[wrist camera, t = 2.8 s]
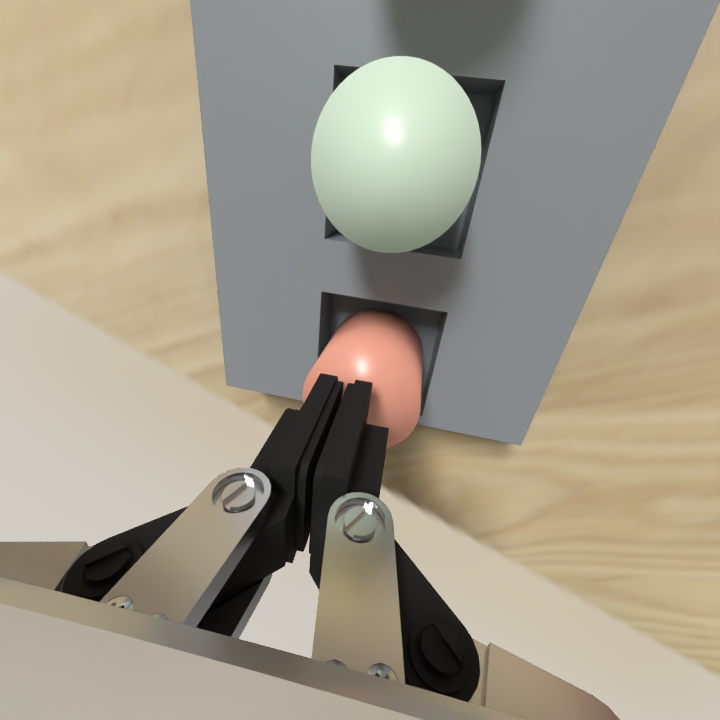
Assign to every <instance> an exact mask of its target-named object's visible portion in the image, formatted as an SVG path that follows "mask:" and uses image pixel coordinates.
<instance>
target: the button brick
mask: <svg viewBox="0 0 720 720" xmlns="http://www.w3.org/2000/svg"><path fill="white" fill-rule="evenodd" d="M422 366H423V347H422V342H421V339H420V337H419V335H418V333H417V331H416V330H415V328H414V327H413V326H412V325H411V324H410V323H409V322H408V321H407V320H406V319H404V318H403V317H401V316H400V315H398V314H396V313H393V312H391V311H387V310H382V309H368V310H363V311H359V312H357V313H354V314H352V315H351V316H349V317H348V318H346V319H345V320H344V321H343V322H342V323H341V324H340V326H339V327H338V329H337V330H336V332H335V333H334V335H333V336H332V338H331V340H330V341H329V343H328V344H327V346H326V347H325V349H324V351H323V352H322V354H321V355H320V357H319V358H318V360H317V361H316V363H315V365H314V366H313V368H312V369H311V371H310V372H309V374H308V376H307V378H306V380H305V383H304V387H303V403H304V402H305V400H306V398H307V397H308V395H309V393H310V391H311V389H312V387H313V386H314V384H315V382H316V380H317V378H318V376H319V375H320V373H323V374H329V375H334V376H338V381H342V382H343V383H344V385H343V395H344V392H345V390H346V387H347V384H348V383H353V384H354V383H355V380H361V381H367V382H372V383H373V385H372V392H371V398H370V405H369V411H368V418H367V424H371V425H376V426H381V427H386V428H389V432H388V439H387V446H386V449H387V448H390V447H392V446H395V445H397V444H399V443H400V442H402V441H403V440H404V439H406V438H407V437H408V436H409V435H410V434H411V433H412V431H413V430H414V428H415V427H416V425H417V422H418V419H419V416H420V407H421V387H422ZM343 395H342V398H343Z"/></svg>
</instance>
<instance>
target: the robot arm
mask: <svg viewBox="0 0 720 720" xmlns="http://www.w3.org/2000/svg"><path fill="white" fill-rule="evenodd" d="M343 385H344V383H343V382H342V381H338V376H334V375H329V374H323V373H320V375H319V376H318V378H317V380H316V382H315V384H314V386H313V387H312V389H311V391H310V393H309V395H308V397H307V398H306V400H305V402H304V404H303V406H302V408H301V409H300V410H295V409H290V408H288V409H286V410H285V412H284V413H283V415H282V416H281V418H280V420H279V421H278V423H277V425H276V426H275V428H274V430H273V431H272V433H271V435H270V436H269V438H268V439H267V441H266V443H265V444H264V446H263V448H262V449H261V451H260V452H259V454H258V456H257V457H256V459H255V461H254V462H253V464H252V466H251V467H250V468H236V469H233V470H229V471H227V472H225V473H223V474H221V475H219V476H218V477H217V478H215V479H214V480H213V481H212V482H211V483H210V484H209V485H208V486H207V487H206V488H205V489H204V490H203V491H202V492H201V493H200V495H199V496H198V497H197V498H196V499H195V500H194V501H193V502H192V503H191V504H190V505H189V506H188V507H185V508H183V509H180V510H178V511H175V512H173V513H170V514H168V515H165V516H163V517H160V518H158V519H155V520H153V521H150V522H148V523H145V524H143V525H140V526H138V527H135V528H133V529H130V530H128V531H125V532H123V533H120V534H118V535H115V536H113V537H110V538H108V539H106V540H104V541H102V542H100V543H98V544H96V545H94V546H88V545H87V543H86V542H0V720H620V719H619V718H618V717H617V716H616V715H615V714H614V713H613V712H612V710H611V709H610V708H609V707H608V706H607V705H605V704H604V703H602V702H601V701H600V700H598V699H597V698H595V697H594V696H593V695H591V694H589V693H587V692H585V691H583V690H581V689H579V688H577V687H575V686H573V685H572V684H570V683H568V682H566V681H564V680H562V679H560V678H558V677H556V676H554V675H552V674H550V673H548V672H546V671H544V670H542V669H540V668H539V667H537V666H535V665H533V664H531V663H529V662H527V661H525V660H523V659H521V658H519V657H517V656H515V655H514V654H511V653H510V652H508V651H506V650H504V649H502V648H500V647H498V646H496V645H494V644H492V643H490V644H489V645H488V647H487V646H486V645H484V644H482V643H480V642H478V641H476V640H474V639H472V638H471V636H470V634H469V633H468V631H467V630H466V628H465V627H464V625H463V624H462V623H461V622H460V621H459V619H458V618H457V617H456V615H454V613H453V612H452V610H451V609H450V608H449V607H448V605H447V604H446V603H445V602H444V600H443V599H442V598H441V597H440V595H439V594H438V593H437V592H436V590H435V589H434V588H433V587H432V585H431V584H430V583H429V582H428V580H427V579H426V578H425V577H424V575H423V574H422V573H421V572H420V570H419V569H418V568H417V567H416V565H415V564H414V563H413V562H412V560H411V559H410V558H409V557H408V555H407V554H406V553H405V552H404V551H403V549H402V548H401V547H400V545H399V544H398V543H397V542H396V540H395V539H394V529H393V520H392V516H391V513H390V511H389V509H388V508H387V506H386V505H385V504H384V503H383V502H382V501H381V500H380V499H379V495H380V488H381V481H382V474H383V467H384V460H385V453H386V446H387V439H388V432H389V428H386V427H381V426H376V425H371V424H367V418H368V411H369V405H370V398H371V392H372V385H373V383H372V382H367V381H361V380H355V383H354V384H353V383H348V384H347V387H346V390H345V392H344V395H343ZM342 395H343V398H342ZM309 534H310V544H309V553H310V554H311V556H310V570H309V572H310V574H311V576H312V578H313V580H314V581H315V583H316V585H317V587H318V589H319V598H318V607H317V616H316V624H315V633H314V642H313V651H312V659H311V658H307V657H303V656H300V655H296V654H293V653H289V652H285V651H281V650H278V649H274V648H270V647H266V646H262V645H259V644H255V643H251V642H248V641H244V640H240V639H239V637H240V635H241V634H242V632H243V630H244V628H245V626H246V625H247V623H248V621H249V619H250V617H251V615H252V613H253V612H254V610H255V608H256V606H257V604H258V603H259V601H260V599H261V597H262V595H263V593H264V591H265V590H266V588H267V586H268V584H269V582H270V579H271V577H272V573H273V572H275V571H277V570H278V569H280V568H282V567H284V566H285V563H286V562H290V563H293V560H294V557H295V554H296V551H297V550H298V551H302V552H303V551H304V549H305V546H306V543H307V540H308V537H309Z"/></svg>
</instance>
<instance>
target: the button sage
mask: <svg viewBox="0 0 720 720" xmlns="http://www.w3.org/2000/svg"><path fill="white" fill-rule="evenodd" d="M480 163H481V135H480V130H479V124H478V120H477V117H476V114H475V111H474V109H473V106H472V104H471V102H470V100H469V98H468V96H467V95H466V93H465V92H464V90H463V89H462V87H461V86H460V85H459V84H458V83H457V82H456V80H455V79H454V78H453V77H452V76H451V75H449V74H448V73H447V72H446V71H444V70H443V69H442V68H440V67H438V66H437V65H435V64H433V63H431V62H428V61H426V60H423V59H420V58H415V57H409V56H392V57H386V58H381V59H378V60H375V61H373V62H370V63H368V64H366V65H364V66H362V67H360V68H359V69H357V70H356V71H354V72H353V73H352V74H350V75H349V76H348V77H347V78H346V79H345V80H344V81H343V82H342V83H341V84H340V85H339V86H338V87H337V88H336V89H335V91H334V92H333V93H332V94H331V96H330V97H329V99H328V101H327V102H326V104H325V106H324V108H323V110H322V112H321V114H320V116H319V119H318V122H317V125H316V128H315V131H314V136H313V141H312V149H311V171H312V179H313V184H314V188H315V192H316V195H317V197H318V200H319V203H320V205H321V207H322V209H323V211H324V213H325V214H326V216H327V217H328V219H329V220H330V222H331V223H332V224H333V225H334V226H335V228H336V229H337V230H338V231H339V232H340V233H341V234H343V235H344V236H345V237H346V238H348V239H349V240H350V241H352V242H353V243H355V244H357V245H359V246H361V247H363V248H366V249H369V250H372V251H376V252H381V253H402V252H407V251H411V250H414V249H417V248H420V247H422V246H424V245H427V244H429V243H430V242H432V241H434V240H435V239H437V238H438V237H440V236H441V235H442V234H443V233H444V232H446V231H447V230H448V229H449V228H450V227H451V226H452V225H453V224H454V223H455V221H456V220H457V219H458V217H459V216H460V215H461V213H462V212H463V211H464V209H465V207H466V205H467V204H468V202H469V200H470V198H471V195H472V193H473V191H474V188H475V185H476V182H477V178H478V174H479V169H480Z"/></svg>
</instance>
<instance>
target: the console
mask: <svg viewBox="0 0 720 720" xmlns="http://www.w3.org/2000/svg"><path fill="white" fill-rule="evenodd" d="M719 2H720V0H190V4H191V14H192V25H193V35H194V46H195V57H196V67H197V78H198V88H199V99H200V110H201V120H202V131H203V141H204V152H205V163H206V173H207V184H208V194H209V205H210V216H211V226H212V237H213V247H214V258H215V269H216V279H217V290H218V300H219V311H220V322H221V332H222V343H223V353H224V364H225V375H226V385H228V386H232V387H237V388H242V389H247V390H252V391H257V392H262V393H267V394H271V395H276V396H281V397H286V398H291V399H296V400H301V401H303V387H304V383H305V380H306V378H307V376H308V374H309V372H310V371H311V369H312V368H313V366H314V365H315V363H316V361H317V360H318V358H319V357H320V355H321V354H322V352H323V351H324V349H325V347H326V346H327V344H328V343H329V341H330V340H331V338H332V336H333V335H334V333H335V332H336V330H337V329H338V327H339V326H340V324H341V323H342V322H343V321H344V320H345V319H346V318H348V317H349V316H351V315H352V314H354V313H357V312H359V311H363V310H368V309H382V310H387V311H391V312H393V313H396V314H398V315H400V316H401V317H403V318H404V319H406V320H407V321H408V322H409V323H410V324H411V325H412V326H413V327H414V328H415V330H416V331H417V333H418V335H419V337H420V339H421V342H422V347H423V366H422V387H421V407H420V416H419V419H418V422H417V424H418V425H423V426H428V427H433V428H438V429H443V430H447V431H452V432H457V433H462V434H467V435H472V436H477V437H482V438H487V439H491V440H496V441H501V442H506V443H511V444H516V445H521V444H522V442H523V440H524V437H525V435H526V433H527V431H528V428H529V426H530V424H531V422H532V419H533V417H534V415H535V413H536V411H537V408H538V406H539V404H540V402H541V399H542V397H543V395H544V393H545V390H546V388H547V386H548V384H549V382H550V379H551V377H552V375H553V373H554V370H555V368H556V366H557V364H558V361H559V359H560V357H561V355H562V353H563V350H564V348H565V346H566V344H567V341H568V339H569V337H570V335H571V332H572V330H573V328H574V326H575V324H576V321H577V319H578V317H579V315H580V312H581V310H582V308H583V306H584V303H585V301H586V299H587V297H588V295H589V292H590V290H591V288H592V286H593V283H594V281H595V279H596V277H597V274H598V272H599V270H600V268H601V265H602V263H603V261H604V259H605V257H606V254H607V252H608V250H609V248H610V245H611V243H612V241H613V239H614V236H615V234H616V232H617V230H618V228H619V225H620V223H621V221H622V219H623V216H624V214H625V212H626V210H627V207H628V205H629V203H630V201H631V199H632V196H633V194H634V192H635V190H636V187H637V185H638V183H639V181H640V178H641V176H642V174H643V172H644V170H645V167H646V165H647V163H648V161H649V158H650V156H651V154H652V152H653V149H654V147H655V145H656V143H657V141H658V138H659V136H660V134H661V132H662V129H663V127H664V125H665V123H666V120H667V118H668V116H669V114H670V112H671V109H672V107H673V105H674V103H675V100H676V98H677V96H678V94H679V91H680V89H681V87H682V85H683V83H684V80H685V78H686V76H687V74H688V71H689V69H690V67H691V65H692V62H693V60H694V58H695V56H696V54H697V51H698V49H699V47H700V45H701V42H702V40H703V38H704V36H705V33H706V31H707V29H708V27H709V25H710V22H711V20H712V18H713V16H714V13H715V11H716V9H717V7H718V4H719ZM392 56H409V57H415V58H420V59H423V60H426V61H428V62H431V63H433V64H435V65H437V66H438V67H440V68H442V69H443V70H444V71H446V72H447V73H448V74H449V75H451V76H452V77H453V78H454V79H455V80H456V82H457V83H458V84H459V85H460V86H461V87H462V89H463V90H464V92H465V93H466V95H467V96H468V98H469V100H470V102H471V104H472V106H473V109H474V111H475V114H476V117H477V120H478V124H479V130H480V135H481V163H480V169H479V174H478V178H477V182H476V185H475V188H474V191H473V193H472V195H471V198H470V200H469V202H468V204H467V205H466V207H465V209H464V211H463V212H462V213H461V215H460V216H459V217H458V219H457V220H456V221H455V223H454V224H453V225H452V226H451V227H450V228H449V229H448V230H447V231H446V232H444V233H443V234H442V235H441V236H440V237H438V238H437V239H435V240H434V241H432V242H430V243H429V244H427V245H424V246H422V247H420V248H417V249H414V250H411V251H407V252H402V253H381V252H376V251H372V250H369V249H366V248H363V247H361V246H359V245H357V244H355V243H353V242H352V241H350V240H349V239H348V238H346V237H345V236H344V235H343V234H341V233H340V232H339V231H338V230H337V229H336V228H335V226H334V225H333V224H332V223H331V222H330V220H329V219H328V217H327V216H326V214H325V213H324V211H323V209H322V207H321V205H320V203H319V200H318V197H317V195H316V192H315V188H314V184H313V179H312V171H311V149H312V141H313V136H314V131H315V128H316V125H317V122H318V119H319V116H320V114H321V112H322V110H323V108H324V106H325V104H326V102H327V101H328V99H329V97H330V96H331V94H332V93H333V92H334V91H335V89H336V88H337V87H338V86H339V85H340V84H341V83H342V82H343V81H344V80H345V79H346V78H347V77H348V76H349V75H350V74H352V73H353V72H354V71H356V70H357V69H359V68H360V67H362V66H364V65H366V64H368V63H370V62H373V61H375V60H378V59H381V58H386V57H392Z"/></svg>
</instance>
